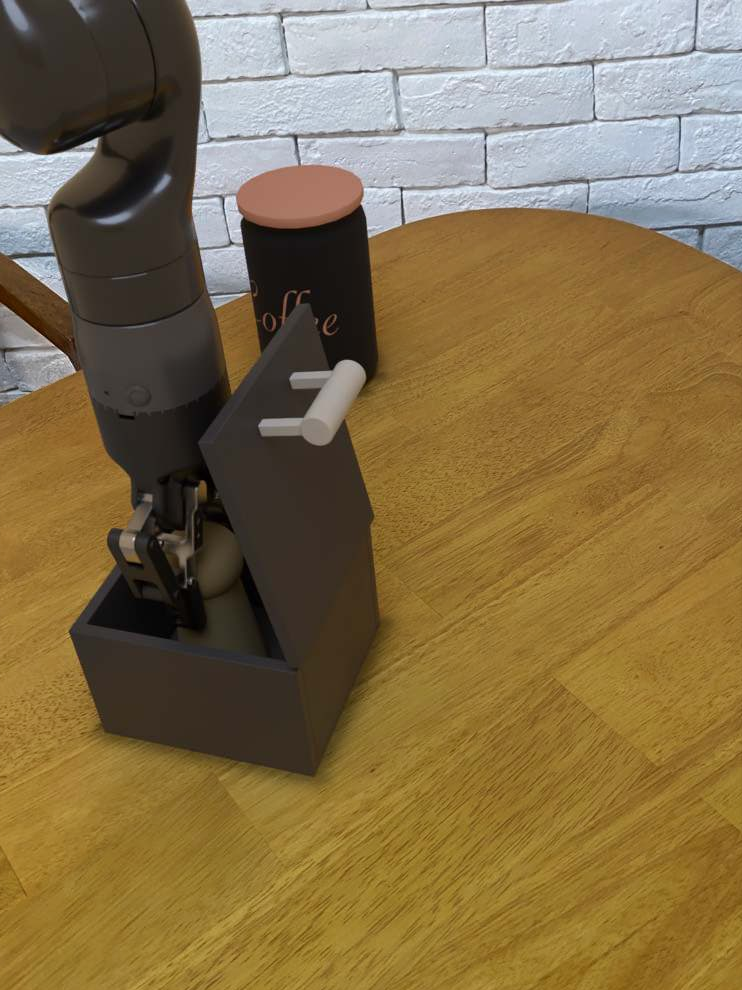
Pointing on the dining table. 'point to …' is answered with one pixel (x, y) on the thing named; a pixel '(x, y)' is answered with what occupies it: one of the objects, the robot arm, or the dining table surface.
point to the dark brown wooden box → (225, 675)
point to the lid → (292, 479)
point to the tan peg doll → (222, 595)
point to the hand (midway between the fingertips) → (208, 592)
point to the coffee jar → (311, 257)
